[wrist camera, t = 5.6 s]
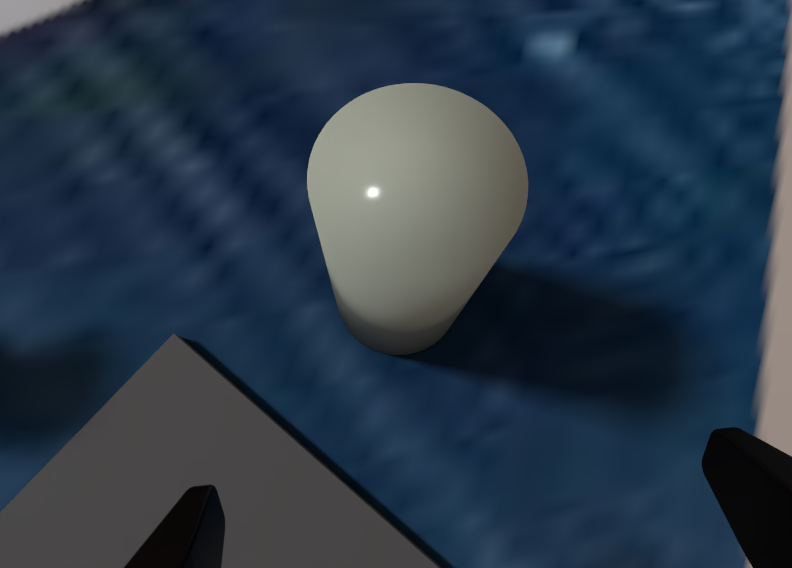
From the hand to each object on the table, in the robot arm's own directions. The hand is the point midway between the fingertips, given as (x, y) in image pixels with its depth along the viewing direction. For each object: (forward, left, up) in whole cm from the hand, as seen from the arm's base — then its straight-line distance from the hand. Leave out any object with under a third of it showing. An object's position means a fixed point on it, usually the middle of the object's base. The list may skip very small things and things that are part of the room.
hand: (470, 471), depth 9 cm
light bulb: (+5, -5, -13) cm, 15 cm away
